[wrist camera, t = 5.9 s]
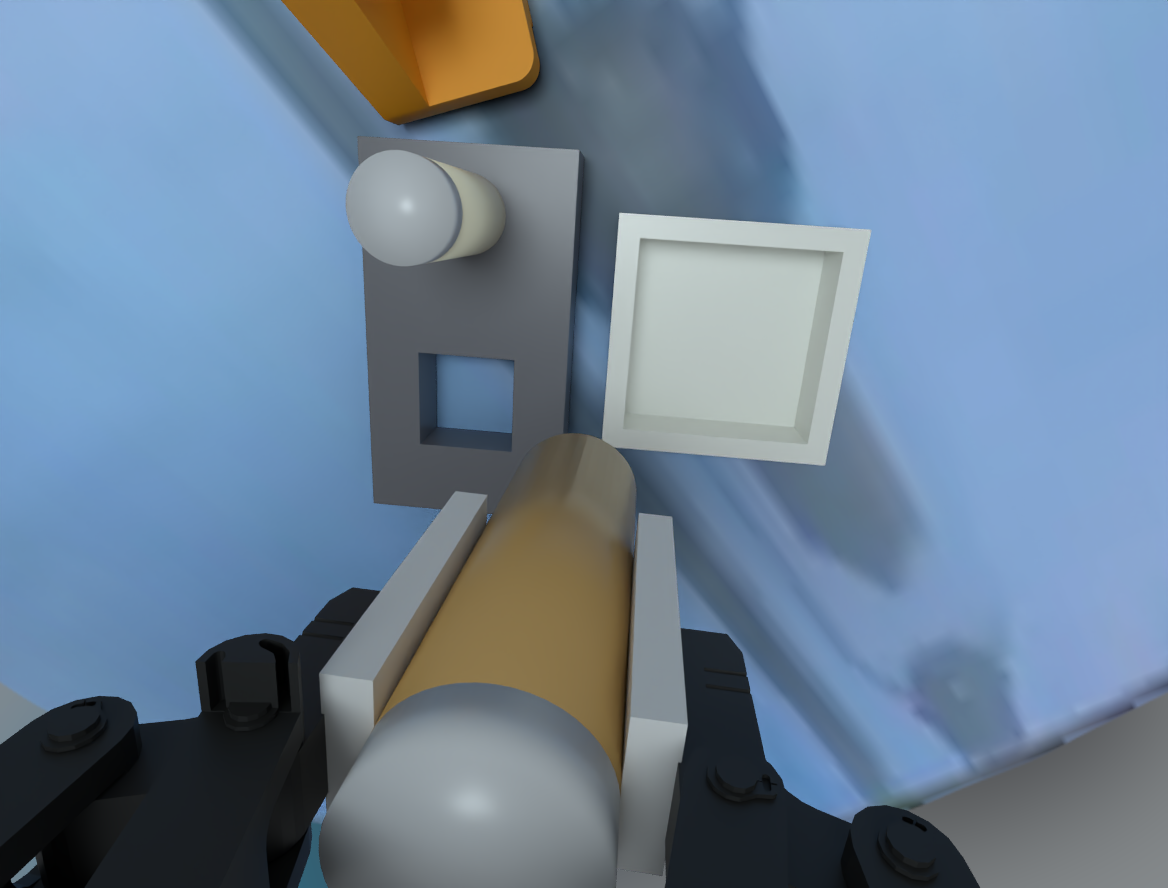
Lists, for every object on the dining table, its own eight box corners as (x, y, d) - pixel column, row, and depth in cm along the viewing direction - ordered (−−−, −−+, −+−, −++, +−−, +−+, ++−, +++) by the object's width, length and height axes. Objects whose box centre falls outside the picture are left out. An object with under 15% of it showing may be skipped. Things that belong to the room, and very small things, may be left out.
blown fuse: (511, 539, 20) (325, 955, 8) (518, 426, 19) (312, 733, 7) (629, 553, 20) (601, 1001, 8) (643, 440, 18) (632, 780, 7)
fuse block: (563, 497, 37) (532, 616, 26) (393, 482, 38) (289, 592, 26) (584, 156, 31) (555, 117, 20) (382, 144, 32) (241, 98, 21)
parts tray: (604, 425, 36) (601, 446, 32) (621, 214, 32) (619, 212, 29) (806, 443, 35) (824, 465, 32) (846, 229, 31) (871, 229, 28)
